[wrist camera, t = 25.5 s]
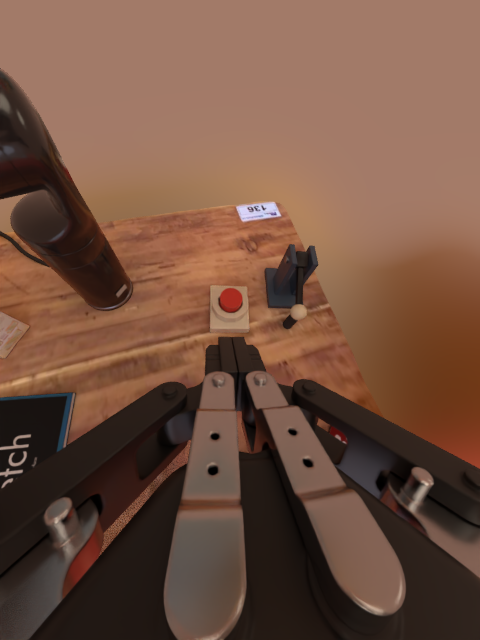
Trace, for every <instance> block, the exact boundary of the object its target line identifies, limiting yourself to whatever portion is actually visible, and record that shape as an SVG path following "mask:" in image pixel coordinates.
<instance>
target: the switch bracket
mask: <svg viewBox="0 0 480 640" xmlns="http://www.w3.org/2000/svg"><path fill="white" fill-rule="evenodd" d="M306 252H308V267H306V268H304V269H303V285H304V283H305V282H306V281H307V279H308V278H309V277H310V275H311V274H312V273H313V271H314V270H315V269H316V267H317V266H318V261H317V256H316V251H315V246H309V248H308V249H307V251H306ZM297 264H298V263H297V257H296V251H295V245H292V244H290V245H289V247H288V249H287V251H286V253H285V255H284V257H283V259H282V261H281V263H280V265H279V267H278V269H276V268H266V269H265V280H266V290H267V301H268V308H292V306H294V305H295V298H296V269H295V267H296V265H297ZM302 305H303V300H302Z"/></svg>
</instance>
